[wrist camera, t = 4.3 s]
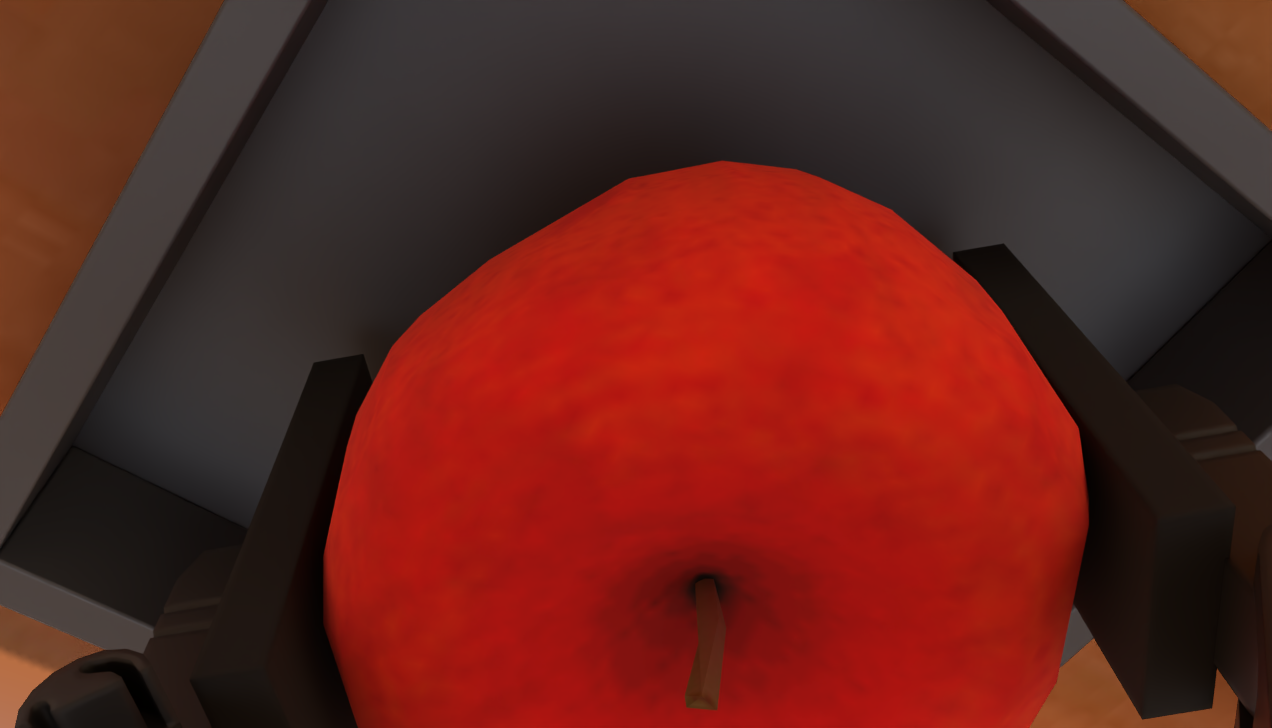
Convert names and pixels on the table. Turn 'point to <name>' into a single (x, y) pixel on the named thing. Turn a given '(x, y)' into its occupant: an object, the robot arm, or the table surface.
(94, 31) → the table surface
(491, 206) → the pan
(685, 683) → the apple
